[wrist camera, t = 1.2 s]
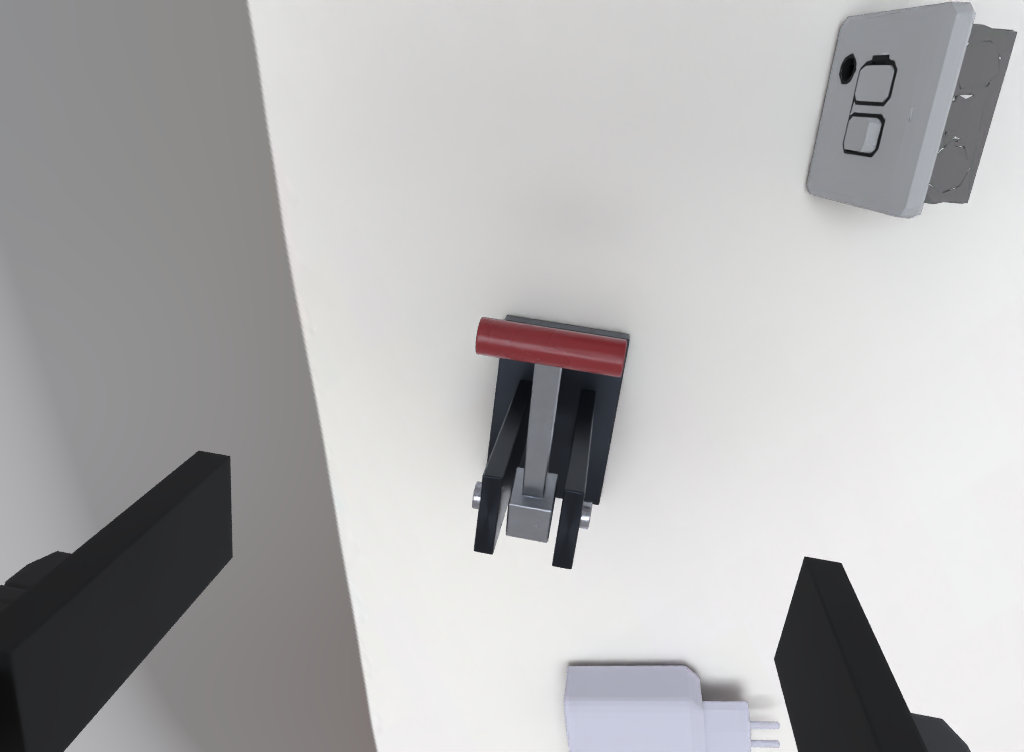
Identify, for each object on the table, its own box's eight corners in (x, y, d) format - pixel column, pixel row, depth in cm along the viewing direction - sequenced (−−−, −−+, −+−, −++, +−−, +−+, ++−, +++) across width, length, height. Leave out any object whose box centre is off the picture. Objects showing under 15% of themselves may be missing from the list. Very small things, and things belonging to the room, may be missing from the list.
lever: (485, 302, 31) (473, 340, 30) (628, 325, 31) (624, 364, 29) (479, 492, 41) (469, 529, 39) (589, 512, 40) (584, 550, 38)
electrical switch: (840, 16, 41) (919, -5, 32) (936, 24, 41) (1042, 5, 32) (802, 192, 44) (864, 217, 35) (891, 201, 44) (975, 227, 35)
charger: (774, 756, 58) (579, 753, 61) (772, 658, 55) (567, 659, 58) (786, 810, 53) (575, 804, 56) (785, 707, 50) (562, 705, 53)
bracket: (507, 314, 49) (459, 397, 35) (629, 333, 48) (630, 426, 34) (487, 477, 53) (437, 607, 39) (599, 497, 52) (589, 637, 39)
